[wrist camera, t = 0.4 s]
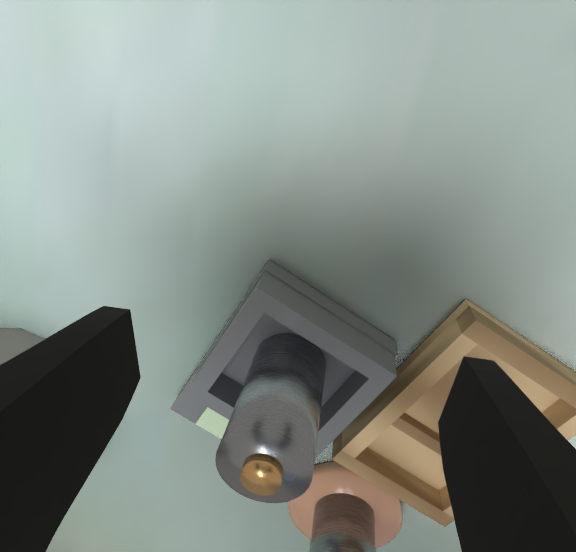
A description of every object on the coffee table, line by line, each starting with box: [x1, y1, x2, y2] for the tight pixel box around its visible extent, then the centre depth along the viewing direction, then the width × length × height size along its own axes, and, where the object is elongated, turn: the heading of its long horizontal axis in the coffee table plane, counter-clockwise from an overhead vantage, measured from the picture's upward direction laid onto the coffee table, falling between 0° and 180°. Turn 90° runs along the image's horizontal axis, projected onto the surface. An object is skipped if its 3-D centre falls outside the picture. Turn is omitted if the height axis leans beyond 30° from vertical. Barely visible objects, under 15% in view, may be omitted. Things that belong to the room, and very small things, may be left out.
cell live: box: [216, 333, 326, 503], centre depth 17 cm, size 3×3×6 cm
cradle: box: [171, 260, 398, 458], centre depth 20 cm, size 10×7×3 cm
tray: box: [332, 299, 576, 526], centre depth 20 cm, size 10×7×2 cm
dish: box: [288, 461, 402, 548], centre depth 24 cm, size 6×6×1 cm
